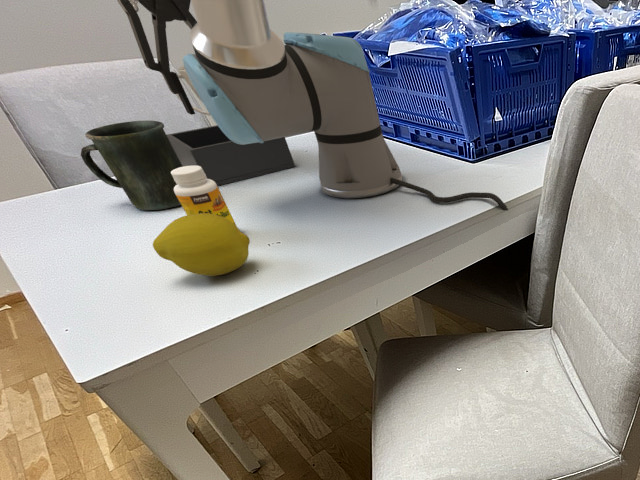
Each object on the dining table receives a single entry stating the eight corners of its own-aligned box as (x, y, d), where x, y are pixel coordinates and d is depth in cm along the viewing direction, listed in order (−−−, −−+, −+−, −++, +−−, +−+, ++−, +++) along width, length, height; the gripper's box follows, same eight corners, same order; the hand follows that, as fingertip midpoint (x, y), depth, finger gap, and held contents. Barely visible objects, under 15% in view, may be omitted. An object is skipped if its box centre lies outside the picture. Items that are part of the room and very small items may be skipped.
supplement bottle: (213, 249, 68) (174, 178, 61) (195, 240, 71) (156, 171, 63) (247, 236, 71) (214, 167, 64) (229, 228, 74) (196, 161, 67)
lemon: (267, 255, 66) (241, 200, 61) (255, 281, 61) (226, 223, 55) (188, 264, 65) (154, 208, 59) (169, 291, 59) (130, 233, 54)
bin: (295, 166, 97) (282, 131, 92) (209, 188, 88) (190, 150, 83) (265, 151, 105) (252, 118, 100) (184, 170, 96) (165, 134, 92)
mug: (188, 209, 80) (147, 134, 72) (100, 217, 78) (46, 140, 70) (209, 188, 88) (173, 118, 79) (128, 195, 86) (83, 124, 78)
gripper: (201, -53, 80) (258, 98, 96) (61, -53, 70) (151, 116, 86) (215, -54, 76) (272, 103, 92) (68, -55, 66) (161, 122, 82)
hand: (213, 109), depth 89 cm, fingers closed on cup, 7 cm apart
